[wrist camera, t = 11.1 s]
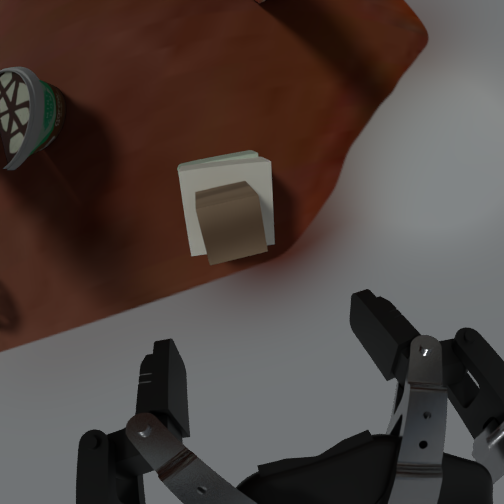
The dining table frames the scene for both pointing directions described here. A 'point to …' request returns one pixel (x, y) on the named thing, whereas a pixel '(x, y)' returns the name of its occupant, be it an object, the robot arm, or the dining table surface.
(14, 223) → the dining table surface
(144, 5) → the dining table surface
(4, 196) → the dining table surface
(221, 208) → the walnut block
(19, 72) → the food container
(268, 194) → the tower top
